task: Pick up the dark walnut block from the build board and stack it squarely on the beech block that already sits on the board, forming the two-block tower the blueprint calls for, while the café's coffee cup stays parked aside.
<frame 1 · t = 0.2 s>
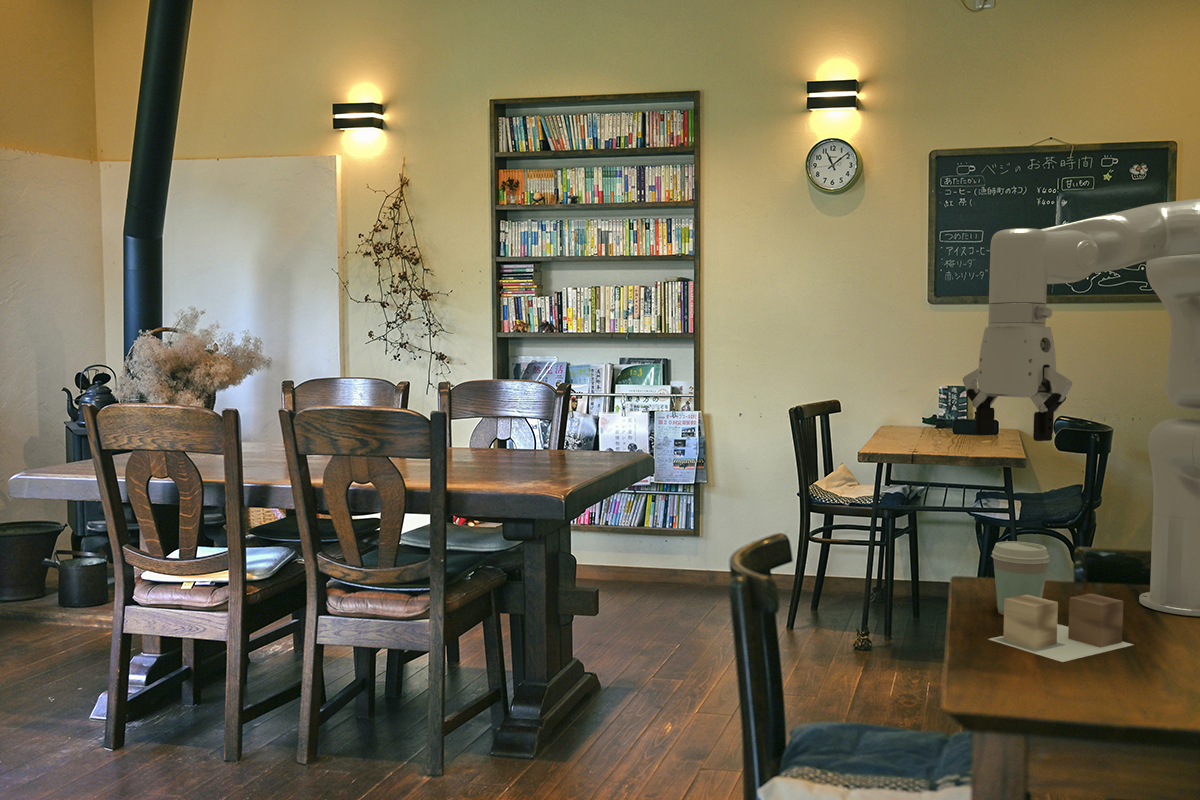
hand: (1012, 437, 143), 30 cm above the table, fingers open, 9 cm apart
beech block: (1029, 641, 143), point 1 cm above the table, touching build board
walnut block: (1094, 640, 144), point 1 cm above the table, touching build board
coffee cup: (1018, 622, 159), on the table
build board: (1060, 650, 143), on the table
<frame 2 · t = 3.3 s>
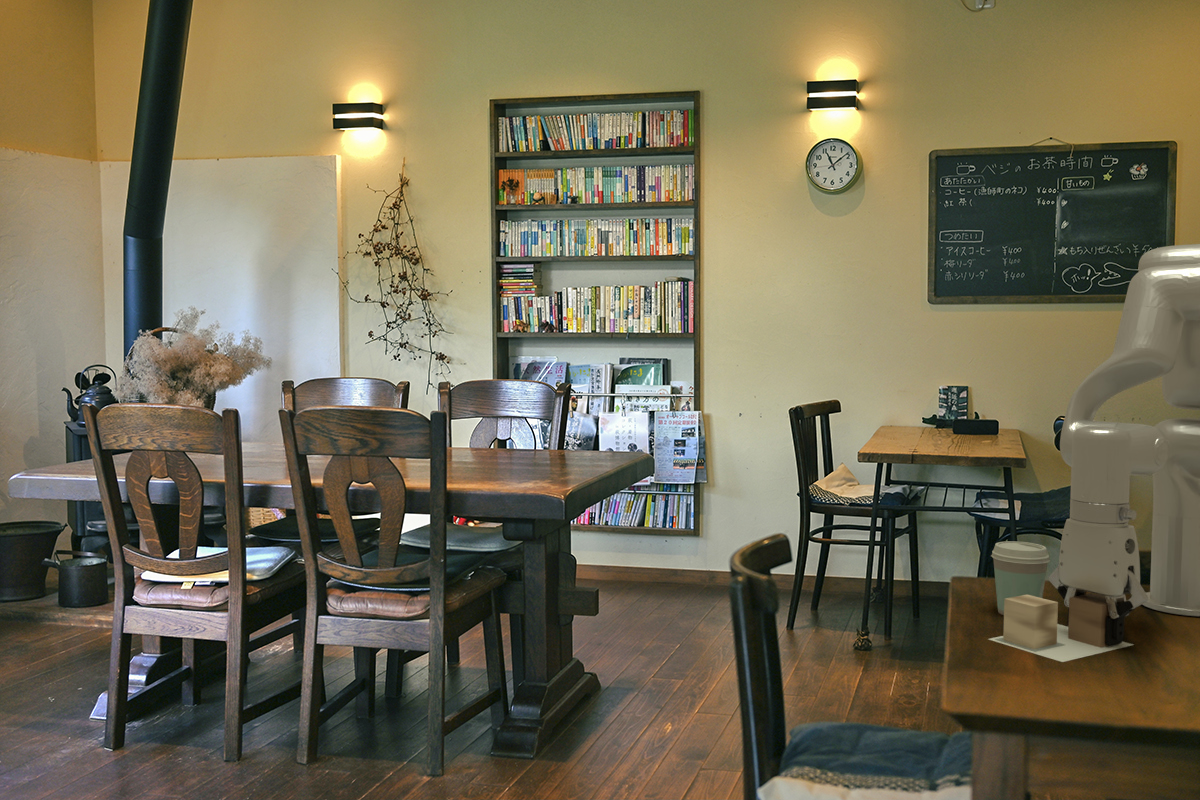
hand: (1094, 637, 144), 2 cm above the table, fingers closed on walnut block, 5 cm apart
walnut block: (1094, 640, 144), point 1 cm above the table, touching build board, gripper
everything else where it was.
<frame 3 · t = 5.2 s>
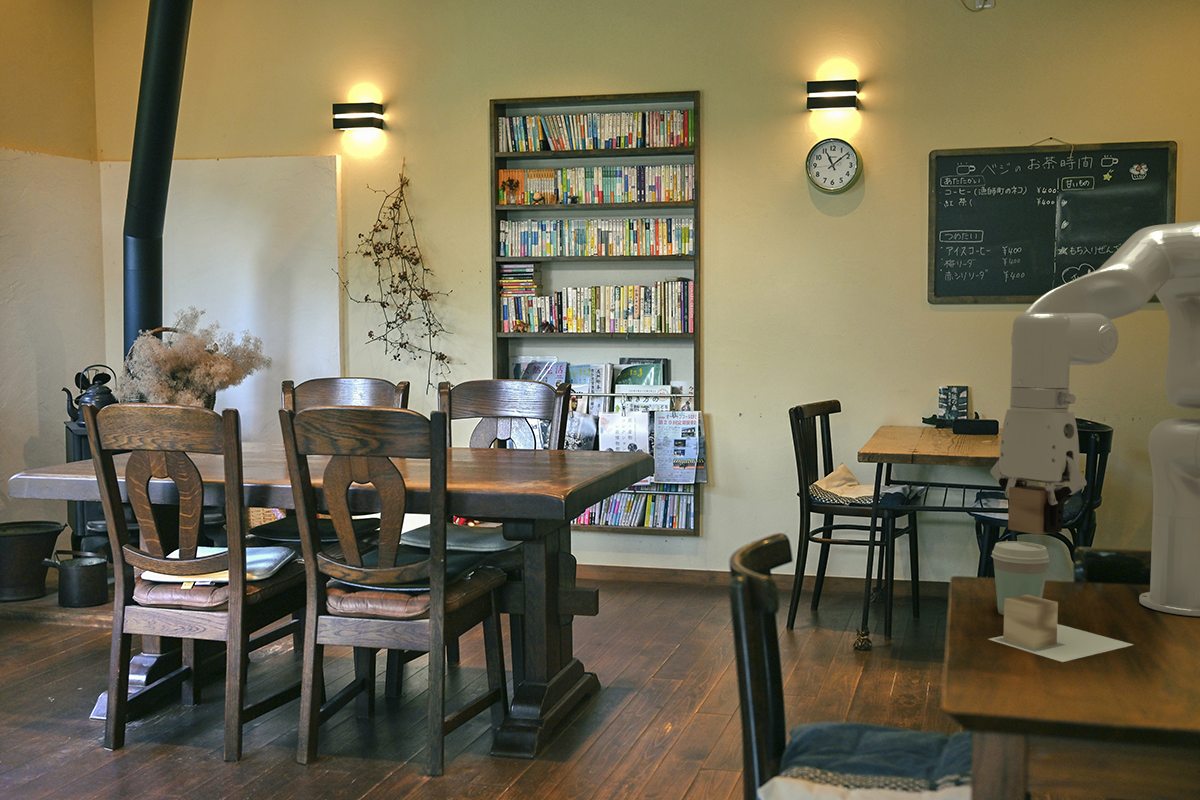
hand: (1034, 527, 142), 18 cm above the table, fingers closed on walnut block, 5 cm apart
walnut block: (1034, 530, 142), point 17 cm above the table, touching gripper
everything else where it was.
when the fingers open (9 cm above the table, at t = 7.2 s): walnut block stays where it is, resting on beech block.
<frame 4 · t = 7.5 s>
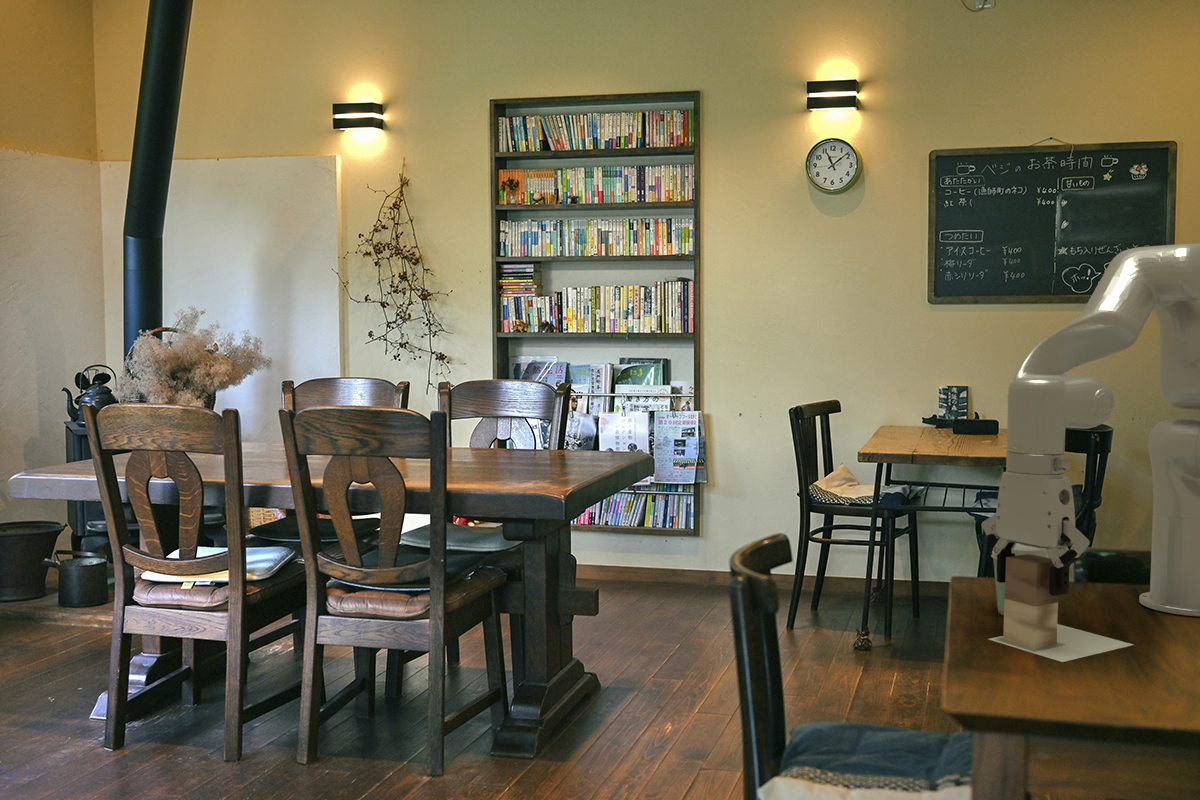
hand: (1031, 587, 143), 9 cm above the table, fingers open, 8 cm apart
beech block: (1029, 642, 143), point 1 cm above the table, touching build board, walnut block
walnut block: (1031, 600, 143), point 7 cm above the table, touching beech block
everything else where it was.
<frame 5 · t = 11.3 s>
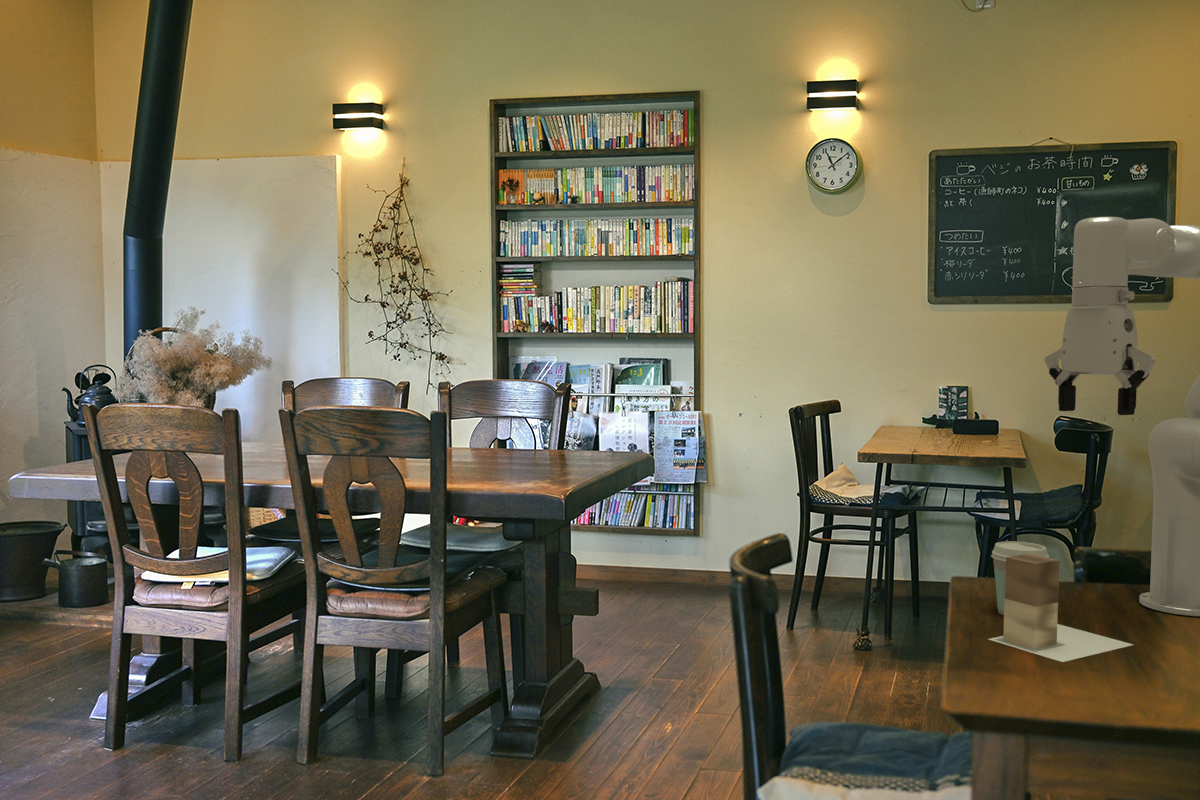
hand: (1095, 412, 153), 33 cm above the table, fingers open, 9 cm apart
nothing on the table moved.
at the end: walnut block 0.0 cm off-centre on the beech block, point 6.0 cm above the beech block's base; walnut block tilted 0°; beech block moved 0.0 cm from its start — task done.
